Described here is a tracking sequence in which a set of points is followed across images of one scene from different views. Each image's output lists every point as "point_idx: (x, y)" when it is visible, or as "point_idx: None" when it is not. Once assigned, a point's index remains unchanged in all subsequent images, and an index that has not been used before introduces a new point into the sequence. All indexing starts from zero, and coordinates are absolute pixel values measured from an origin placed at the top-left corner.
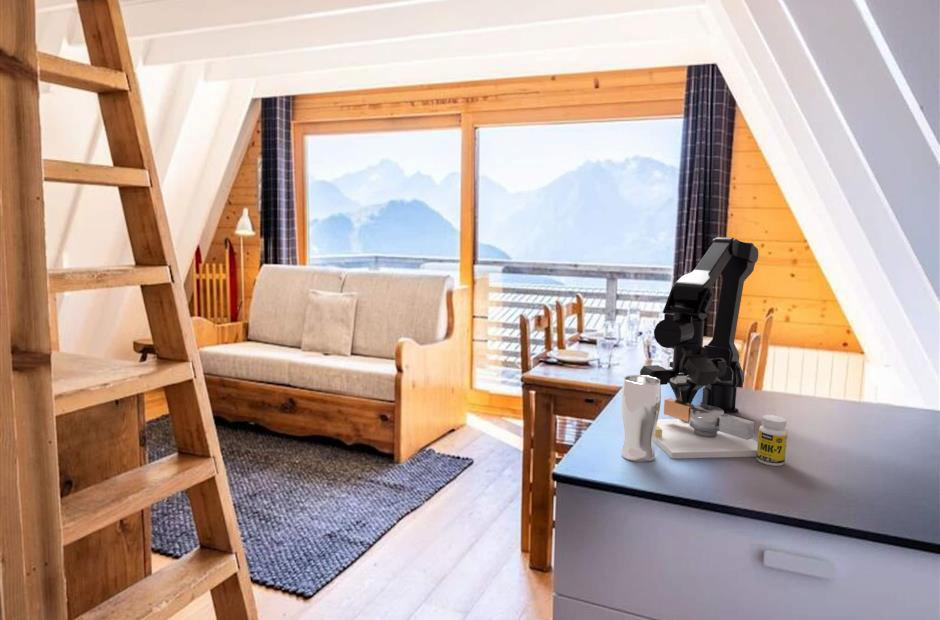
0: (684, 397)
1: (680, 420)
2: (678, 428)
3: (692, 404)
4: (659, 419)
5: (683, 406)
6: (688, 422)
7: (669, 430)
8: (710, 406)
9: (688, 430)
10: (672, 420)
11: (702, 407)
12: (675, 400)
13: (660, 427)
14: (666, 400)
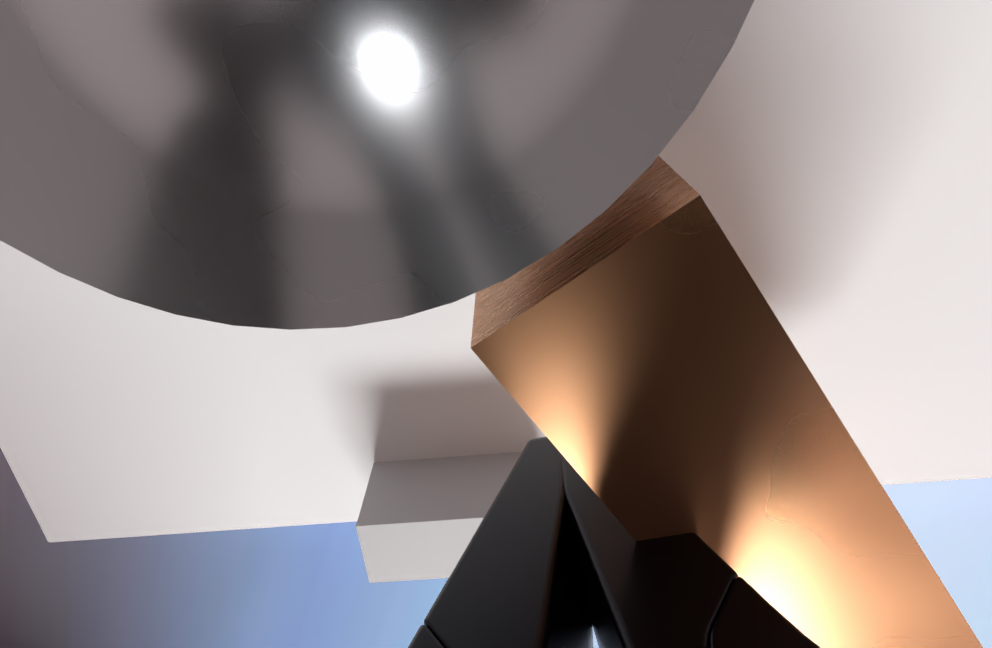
0: (695, 626)
1: None
2: (709, 164)
3: (519, 386)
4: None
5: (770, 318)
6: (474, 400)
7: (894, 66)
8: (56, 199)
9: None
10: None
11: (326, 74)
12: None
13: (953, 200)
14: (974, 639)
